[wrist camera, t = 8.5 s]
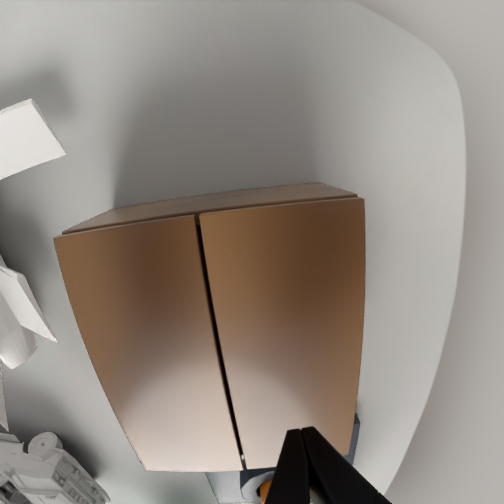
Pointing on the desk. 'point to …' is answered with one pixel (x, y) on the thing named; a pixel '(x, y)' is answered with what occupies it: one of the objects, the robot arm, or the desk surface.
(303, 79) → the desk surface
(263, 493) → the button
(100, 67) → the desk surface
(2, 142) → the airplane model
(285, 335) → the flap
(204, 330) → the carton
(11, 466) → the toy car
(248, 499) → the button box
